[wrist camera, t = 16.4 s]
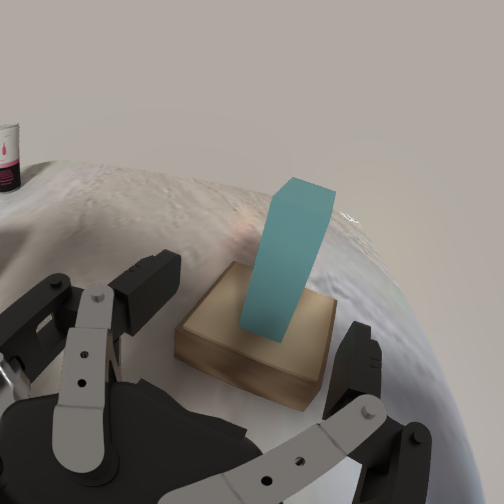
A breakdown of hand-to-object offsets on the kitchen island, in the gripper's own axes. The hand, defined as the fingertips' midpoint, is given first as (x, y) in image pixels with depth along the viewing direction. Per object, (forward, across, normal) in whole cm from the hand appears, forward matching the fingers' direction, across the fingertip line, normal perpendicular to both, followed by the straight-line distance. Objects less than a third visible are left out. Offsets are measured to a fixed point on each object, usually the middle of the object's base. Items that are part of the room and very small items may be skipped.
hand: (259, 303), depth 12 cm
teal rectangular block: (+12, 0, +10) cm, 15 cm away
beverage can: (+16, +64, +14) cm, 67 cm away
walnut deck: (+12, +1, +15) cm, 19 cm away
